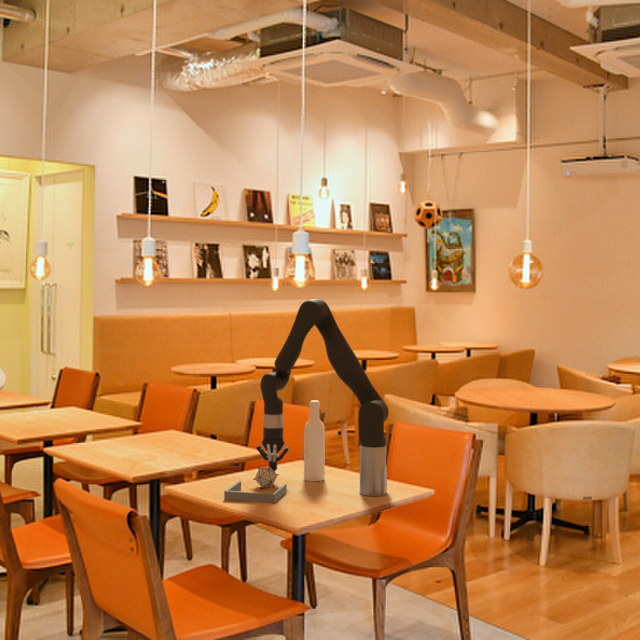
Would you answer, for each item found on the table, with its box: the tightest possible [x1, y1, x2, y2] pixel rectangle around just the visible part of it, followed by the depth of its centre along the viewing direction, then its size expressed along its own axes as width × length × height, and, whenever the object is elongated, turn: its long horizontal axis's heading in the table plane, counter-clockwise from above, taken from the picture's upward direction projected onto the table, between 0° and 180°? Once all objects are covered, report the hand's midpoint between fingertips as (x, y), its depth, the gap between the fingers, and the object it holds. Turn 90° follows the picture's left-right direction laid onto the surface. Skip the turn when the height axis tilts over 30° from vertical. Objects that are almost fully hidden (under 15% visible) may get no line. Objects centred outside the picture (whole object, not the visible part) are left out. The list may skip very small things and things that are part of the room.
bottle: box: [303, 399, 326, 482], centre depth 318 cm, size 8×8×30 cm
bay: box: [223, 480, 288, 504], centre depth 294 cm, size 18×15×3 cm
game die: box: [252, 465, 280, 490], centre depth 305 cm, size 9×8×10 cm
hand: (272, 471), depth 314 cm, fingers closed
